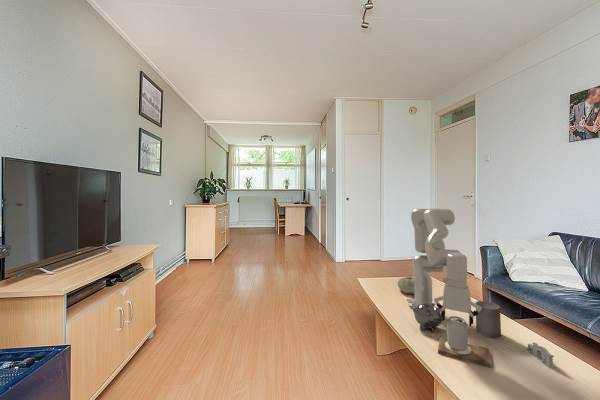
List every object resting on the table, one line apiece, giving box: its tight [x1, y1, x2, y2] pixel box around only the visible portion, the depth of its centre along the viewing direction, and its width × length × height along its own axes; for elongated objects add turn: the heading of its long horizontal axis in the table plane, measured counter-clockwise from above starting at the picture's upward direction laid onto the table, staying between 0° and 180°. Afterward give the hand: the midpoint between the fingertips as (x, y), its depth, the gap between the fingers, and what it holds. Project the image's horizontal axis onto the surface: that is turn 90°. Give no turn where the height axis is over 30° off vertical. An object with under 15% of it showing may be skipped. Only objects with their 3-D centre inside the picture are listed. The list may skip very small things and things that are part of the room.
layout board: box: [437, 336, 492, 368], centre depth 107 cm, size 18×12×2 cm, turn 57°
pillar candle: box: [474, 300, 502, 339], centre depth 123 cm, size 10×10×15 cm
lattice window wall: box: [527, 341, 555, 369], centre depth 102 cm, size 12×2×6 cm, turn 170°
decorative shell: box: [397, 276, 415, 295], centre depth 179 cm, size 18×18×10 cm
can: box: [446, 315, 469, 351], centre depth 109 cm, size 8×8×12 cm
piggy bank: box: [412, 302, 444, 331], centre depth 129 cm, size 11×15×12 cm
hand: (456, 322), depth 109 cm, fingers open, 9 cm apart
